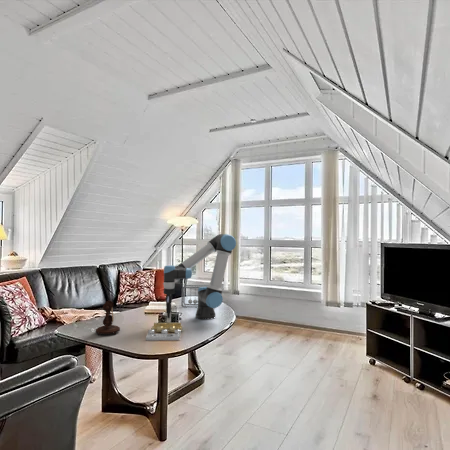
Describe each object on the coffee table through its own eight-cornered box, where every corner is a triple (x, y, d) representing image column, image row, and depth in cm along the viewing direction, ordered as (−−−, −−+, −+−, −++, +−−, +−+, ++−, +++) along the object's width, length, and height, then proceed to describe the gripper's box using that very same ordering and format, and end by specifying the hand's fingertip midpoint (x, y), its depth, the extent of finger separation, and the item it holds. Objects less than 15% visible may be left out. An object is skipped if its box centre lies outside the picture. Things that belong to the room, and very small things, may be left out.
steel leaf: (180, 334, 223) (180, 328, 223) (179, 340, 212) (179, 333, 212) (149, 335, 222) (149, 329, 222) (145, 340, 211) (145, 334, 211)
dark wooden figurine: (118, 335, 220) (119, 303, 221) (93, 336, 217) (94, 304, 218) (120, 329, 235) (121, 299, 235) (97, 330, 232) (98, 299, 232)
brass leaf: (182, 328, 237) (182, 322, 237) (181, 333, 226) (181, 327, 226) (152, 328, 236) (152, 322, 236) (149, 333, 226) (149, 327, 226)
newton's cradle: (181, 307, 302) (181, 286, 302) (183, 304, 313) (183, 284, 313) (216, 308, 301) (216, 287, 301) (217, 305, 311) (217, 285, 311)
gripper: (164, 286, 251) (164, 319, 250) (162, 289, 238) (161, 324, 237) (175, 286, 251) (175, 319, 250) (173, 289, 238) (173, 324, 237)
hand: (168, 322), depth 244 cm, fingers closed
